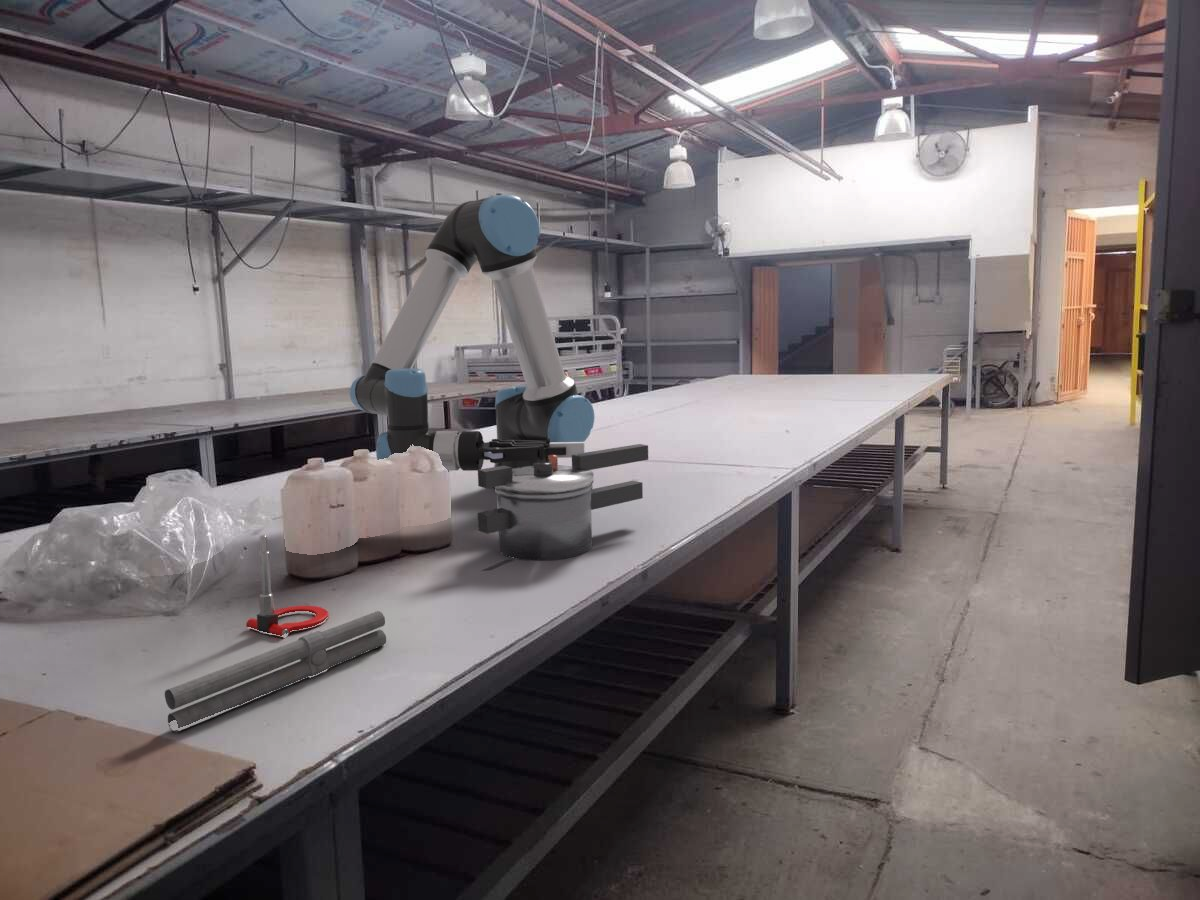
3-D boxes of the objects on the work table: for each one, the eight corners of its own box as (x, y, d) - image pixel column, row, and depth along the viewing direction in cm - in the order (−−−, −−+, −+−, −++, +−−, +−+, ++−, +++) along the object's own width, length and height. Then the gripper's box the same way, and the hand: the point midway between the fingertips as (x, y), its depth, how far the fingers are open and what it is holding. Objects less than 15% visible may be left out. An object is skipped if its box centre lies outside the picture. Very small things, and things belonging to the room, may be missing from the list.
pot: (507, 521, 156) (505, 465, 154) (643, 521, 154) (642, 464, 152) (477, 563, 130) (474, 497, 128) (640, 564, 128) (639, 496, 126)
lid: (511, 502, 123) (510, 477, 122) (456, 485, 136) (455, 462, 135) (675, 470, 145) (675, 449, 144) (614, 458, 158) (614, 438, 157)
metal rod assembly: (180, 739, 78) (175, 691, 77) (167, 731, 80) (161, 684, 79) (392, 648, 99) (389, 609, 98) (377, 643, 100) (375, 605, 99)
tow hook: (298, 609, 113) (241, 630, 105) (294, 519, 111) (235, 533, 103) (342, 620, 109) (285, 642, 101) (338, 526, 107) (280, 541, 99)
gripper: (468, 463, 160) (586, 462, 159) (453, 477, 147) (582, 476, 146) (466, 426, 159) (586, 425, 158) (451, 436, 146) (581, 435, 145)
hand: (584, 449), depth 152 cm, fingers closed
